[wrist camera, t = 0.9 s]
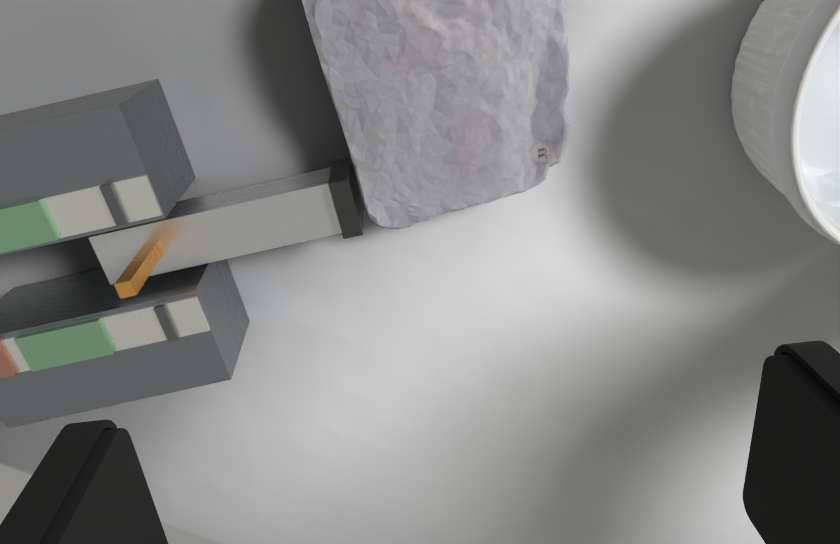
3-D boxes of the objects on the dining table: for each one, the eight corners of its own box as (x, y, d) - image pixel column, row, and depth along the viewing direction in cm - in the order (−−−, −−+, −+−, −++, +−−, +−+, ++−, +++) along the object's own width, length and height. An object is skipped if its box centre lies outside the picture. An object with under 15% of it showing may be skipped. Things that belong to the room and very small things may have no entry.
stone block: (505, -119, 28) (272, -49, 26) (558, -133, 23) (283, -50, 22) (552, 150, 33) (361, 219, 32) (601, 178, 29) (384, 259, 28)
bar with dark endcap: (349, 158, 29) (345, 208, 24) (363, 208, 30) (362, 268, 25) (109, 212, 29) (49, 274, 24) (130, 260, 31) (78, 331, 25)
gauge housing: (158, 78, 28) (115, 106, 23) (249, 320, 33) (229, 384, 29) (-71, 132, 28) (-160, 170, 24) (55, 363, 34) (3, 433, 29)
